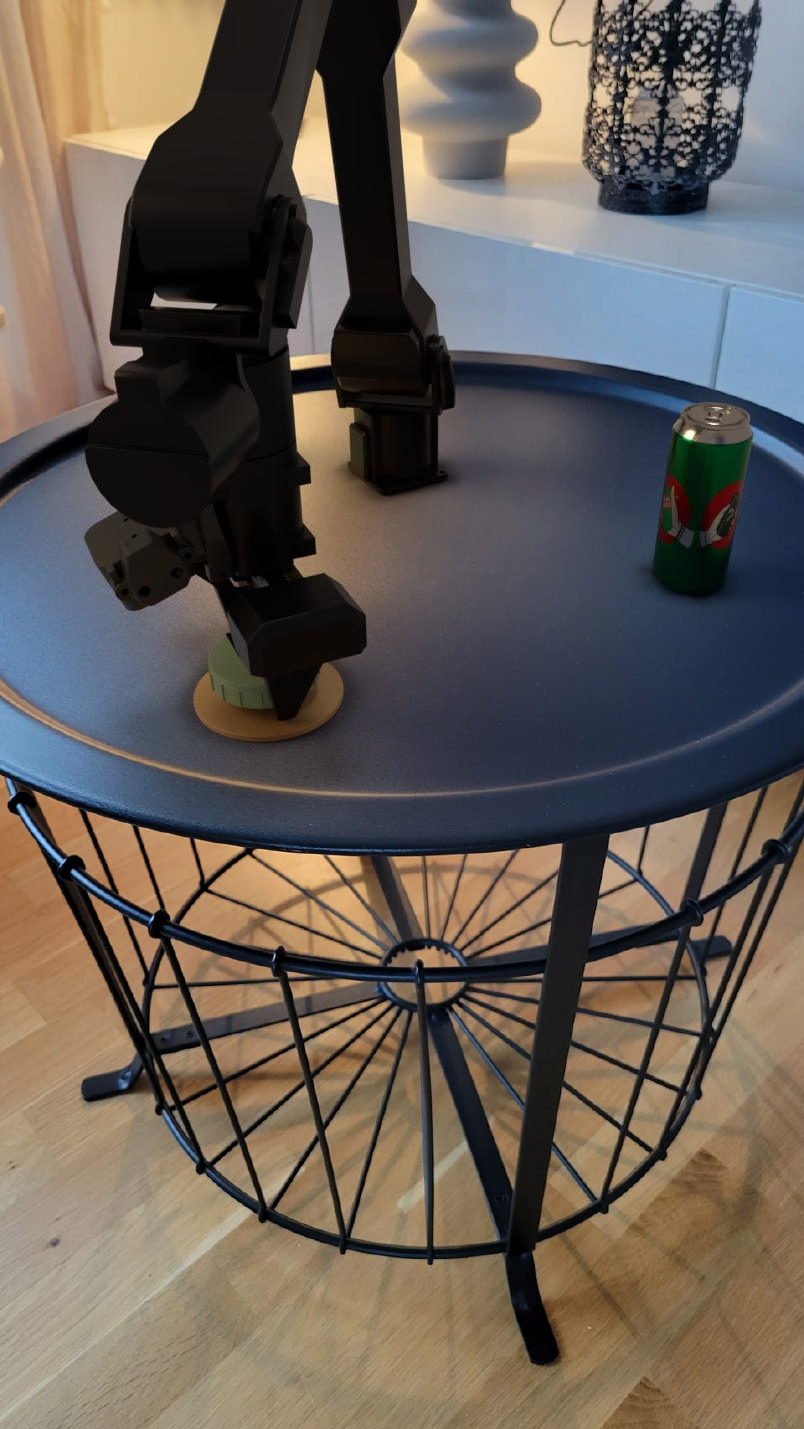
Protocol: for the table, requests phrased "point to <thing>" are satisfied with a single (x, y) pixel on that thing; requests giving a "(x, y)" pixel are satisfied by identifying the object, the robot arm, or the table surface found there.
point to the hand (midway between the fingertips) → (268, 687)
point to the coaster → (269, 711)
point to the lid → (237, 679)
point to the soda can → (701, 496)
